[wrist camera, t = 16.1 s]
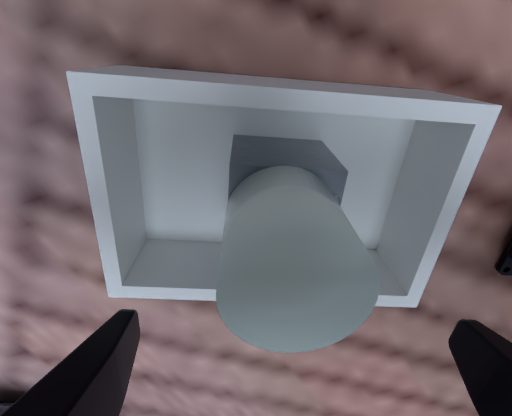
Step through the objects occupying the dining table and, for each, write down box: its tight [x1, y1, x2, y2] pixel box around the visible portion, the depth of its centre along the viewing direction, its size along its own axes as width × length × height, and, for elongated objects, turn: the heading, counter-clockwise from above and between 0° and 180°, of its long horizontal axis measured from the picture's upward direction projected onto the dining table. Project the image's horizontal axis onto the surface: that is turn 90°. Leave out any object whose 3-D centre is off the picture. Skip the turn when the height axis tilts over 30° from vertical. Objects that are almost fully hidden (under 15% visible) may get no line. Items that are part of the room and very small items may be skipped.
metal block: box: [228, 134, 348, 206], centre depth 16 cm, size 5×5×5 cm
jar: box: [216, 166, 380, 353], centre depth 12 cm, size 5×5×5 cm
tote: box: [66, 65, 502, 307], centre depth 17 cm, size 17×11×6 cm, turn 86°
